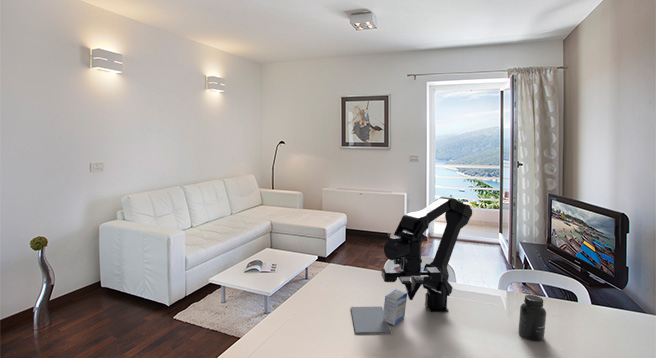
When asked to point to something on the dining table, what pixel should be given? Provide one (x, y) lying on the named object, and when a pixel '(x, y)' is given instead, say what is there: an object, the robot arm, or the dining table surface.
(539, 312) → the supplement bottle
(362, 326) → the mat
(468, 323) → the dining table surface
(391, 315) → the medicine box
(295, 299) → the dining table surface
